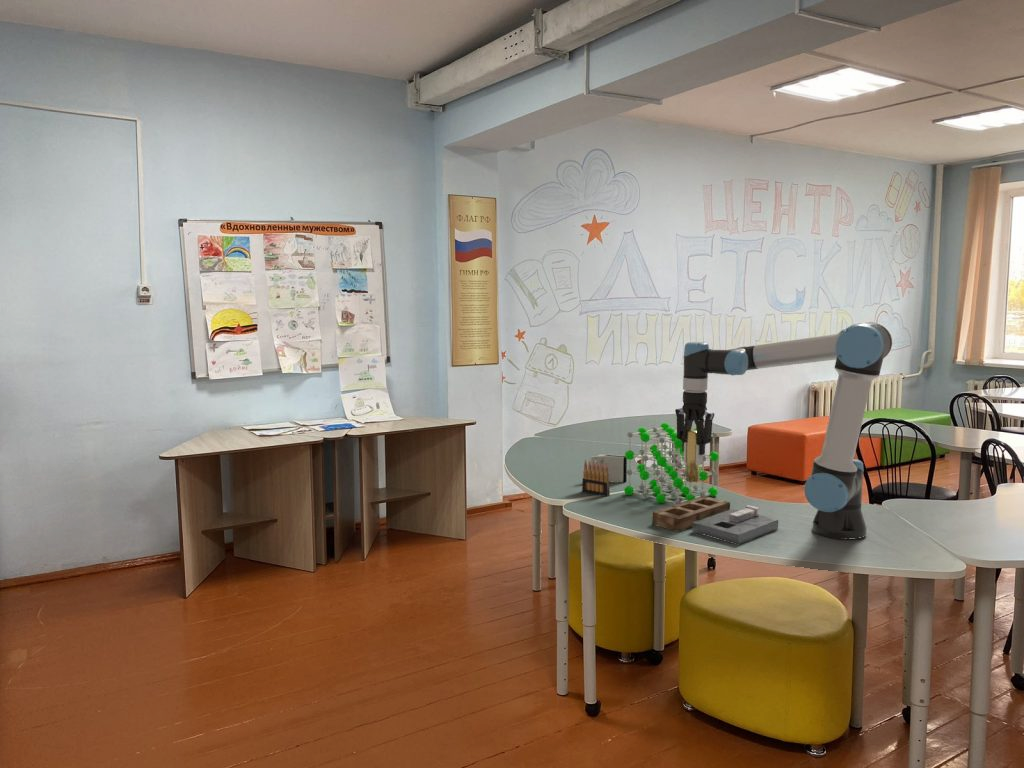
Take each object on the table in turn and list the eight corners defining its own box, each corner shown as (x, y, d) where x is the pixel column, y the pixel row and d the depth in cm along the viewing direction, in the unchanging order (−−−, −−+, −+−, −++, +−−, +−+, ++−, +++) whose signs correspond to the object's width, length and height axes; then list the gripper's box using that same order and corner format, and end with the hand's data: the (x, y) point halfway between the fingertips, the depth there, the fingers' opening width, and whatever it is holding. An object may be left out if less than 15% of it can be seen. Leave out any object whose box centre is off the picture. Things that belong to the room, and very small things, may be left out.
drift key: (759, 515, 237) (759, 507, 237) (739, 523, 230) (739, 515, 230) (748, 512, 240) (748, 505, 240) (727, 520, 233) (727, 512, 233)
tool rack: (729, 513, 250) (730, 502, 250) (678, 531, 232) (678, 519, 231) (704, 507, 257) (704, 496, 257) (652, 524, 239) (652, 512, 239)
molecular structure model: (679, 509, 256) (680, 439, 253) (622, 495, 274) (622, 429, 271) (719, 496, 271) (721, 430, 269) (663, 483, 290) (664, 421, 287)
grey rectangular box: (590, 482, 293) (590, 456, 291) (590, 479, 298) (590, 454, 297) (626, 483, 291) (627, 457, 290) (626, 479, 296) (626, 454, 295)
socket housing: (777, 529, 234) (778, 519, 234) (738, 544, 219) (738, 534, 219) (732, 517, 246) (732, 508, 245) (692, 531, 231) (692, 522, 231)
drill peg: (701, 480, 243) (702, 431, 241) (694, 482, 240) (695, 432, 238) (691, 478, 246) (692, 429, 244) (683, 480, 243) (684, 431, 241)
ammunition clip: (581, 492, 278) (582, 460, 277) (584, 490, 280) (584, 459, 278) (607, 496, 272) (607, 464, 271) (609, 495, 273) (610, 463, 272)
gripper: (725, 392, 236) (722, 465, 239) (680, 387, 248) (678, 457, 251) (711, 394, 231) (708, 469, 234) (666, 389, 243) (664, 460, 246)
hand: (693, 463), depth 242 cm, fingers closed on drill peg, 4 cm apart
